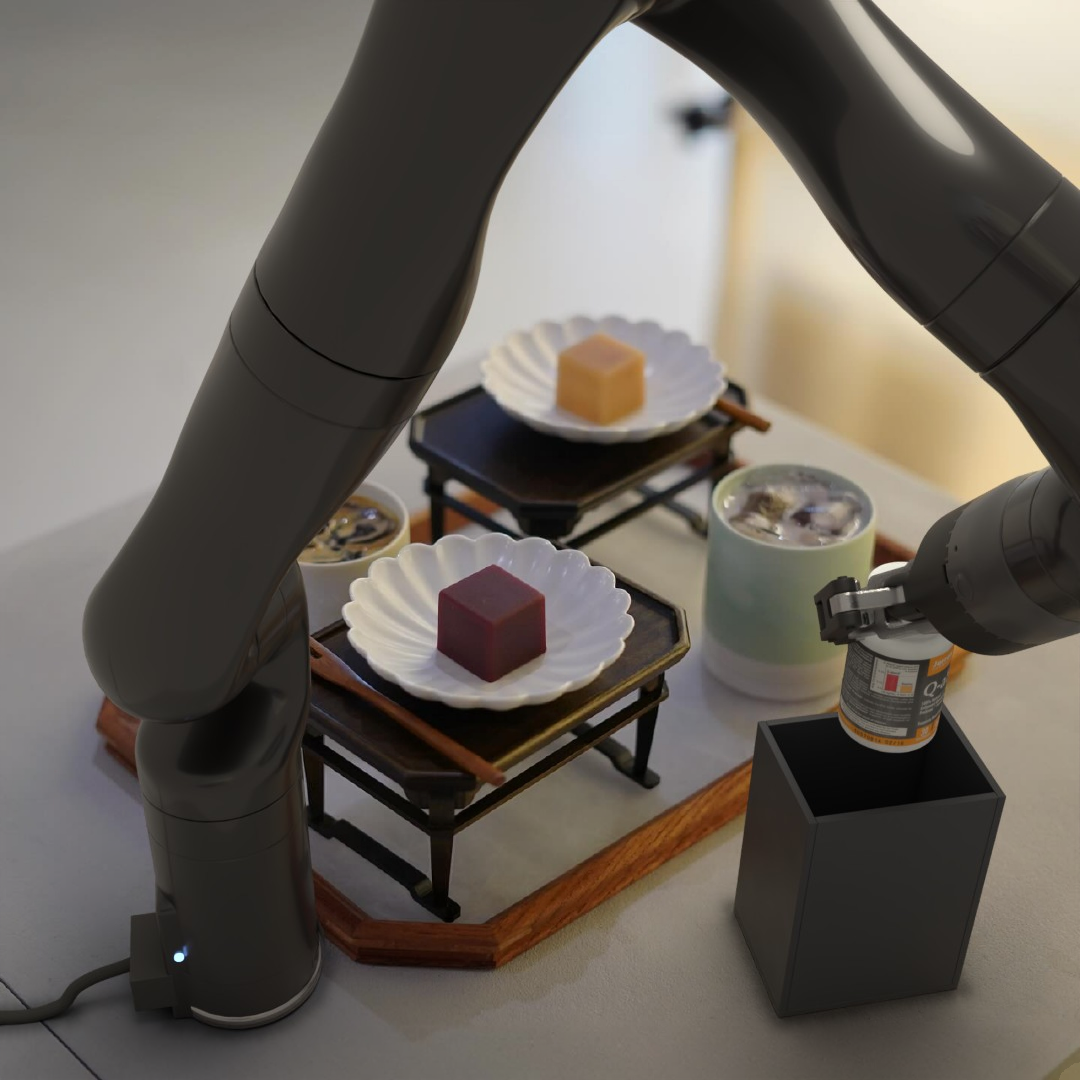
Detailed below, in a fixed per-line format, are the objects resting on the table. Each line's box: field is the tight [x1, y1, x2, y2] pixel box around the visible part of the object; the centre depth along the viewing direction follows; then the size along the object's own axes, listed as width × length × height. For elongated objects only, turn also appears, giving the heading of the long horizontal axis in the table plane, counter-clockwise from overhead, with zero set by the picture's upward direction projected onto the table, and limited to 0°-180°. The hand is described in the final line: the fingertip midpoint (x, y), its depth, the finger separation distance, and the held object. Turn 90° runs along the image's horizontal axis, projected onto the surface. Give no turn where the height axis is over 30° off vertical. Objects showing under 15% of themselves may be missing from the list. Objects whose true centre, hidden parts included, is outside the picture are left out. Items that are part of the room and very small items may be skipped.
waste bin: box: [733, 701, 1007, 1018], centre depth 94 cm, size 12×9×16 cm
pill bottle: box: [837, 561, 955, 753], centre depth 85 cm, size 6×6×10 cm
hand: (889, 620), depth 86 cm, fingers closed on pill bottle, 5 cm apart
